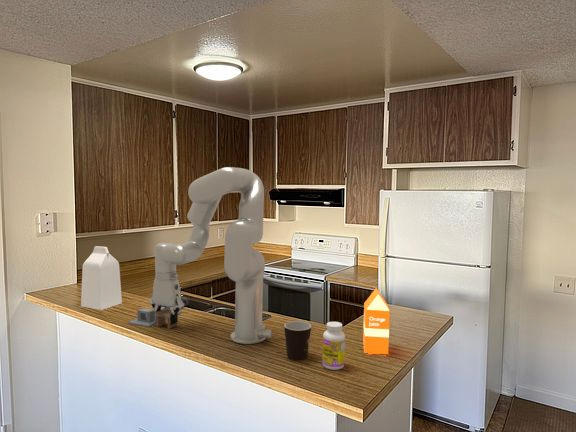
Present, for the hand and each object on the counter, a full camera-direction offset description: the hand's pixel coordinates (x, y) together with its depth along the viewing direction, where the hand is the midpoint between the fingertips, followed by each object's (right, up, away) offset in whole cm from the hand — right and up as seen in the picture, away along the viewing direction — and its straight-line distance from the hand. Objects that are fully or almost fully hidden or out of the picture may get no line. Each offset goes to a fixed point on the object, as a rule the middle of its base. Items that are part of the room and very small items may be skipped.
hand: (166, 321), depth 155 cm
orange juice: (+75, -4, -19) cm, 78 cm away
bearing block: (-7, -1, +10) cm, 12 cm away
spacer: (0, -2, 0) cm, 2 cm away
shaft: (-3, +1, +20) cm, 20 cm away
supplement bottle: (+60, -5, -32) cm, 68 cm away
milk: (-37, +1, +27) cm, 45 cm away
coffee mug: (+50, -4, -25) cm, 56 cm away
